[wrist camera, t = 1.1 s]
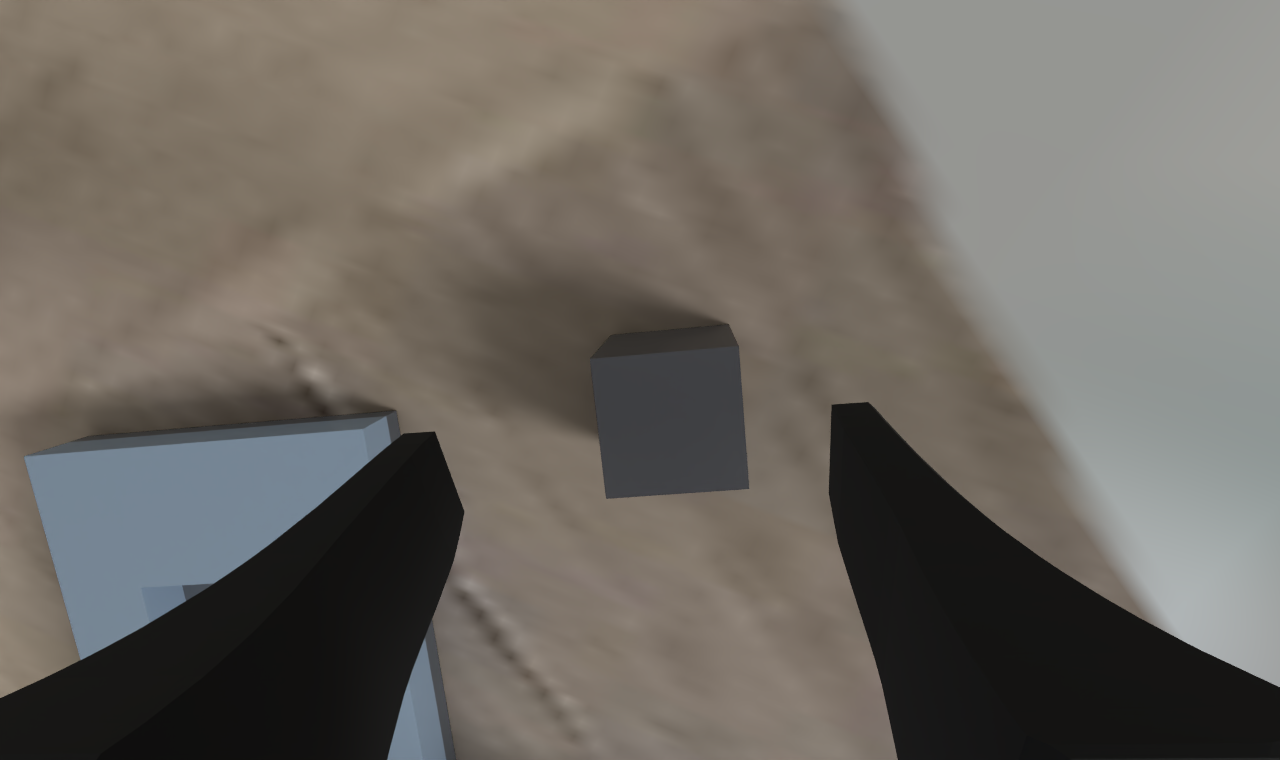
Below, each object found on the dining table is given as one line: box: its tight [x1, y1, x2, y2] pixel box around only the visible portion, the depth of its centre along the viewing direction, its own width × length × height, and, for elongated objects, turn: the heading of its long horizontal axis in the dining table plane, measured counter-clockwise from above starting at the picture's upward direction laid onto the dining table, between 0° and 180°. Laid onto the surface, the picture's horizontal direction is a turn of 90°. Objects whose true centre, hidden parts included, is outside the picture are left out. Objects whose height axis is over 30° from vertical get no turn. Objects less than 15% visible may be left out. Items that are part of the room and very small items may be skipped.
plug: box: [590, 324, 749, 499], centre depth 21 cm, size 4×4×5 cm
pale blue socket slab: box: [24, 411, 456, 760], centre depth 25 cm, size 16×12×2 cm
